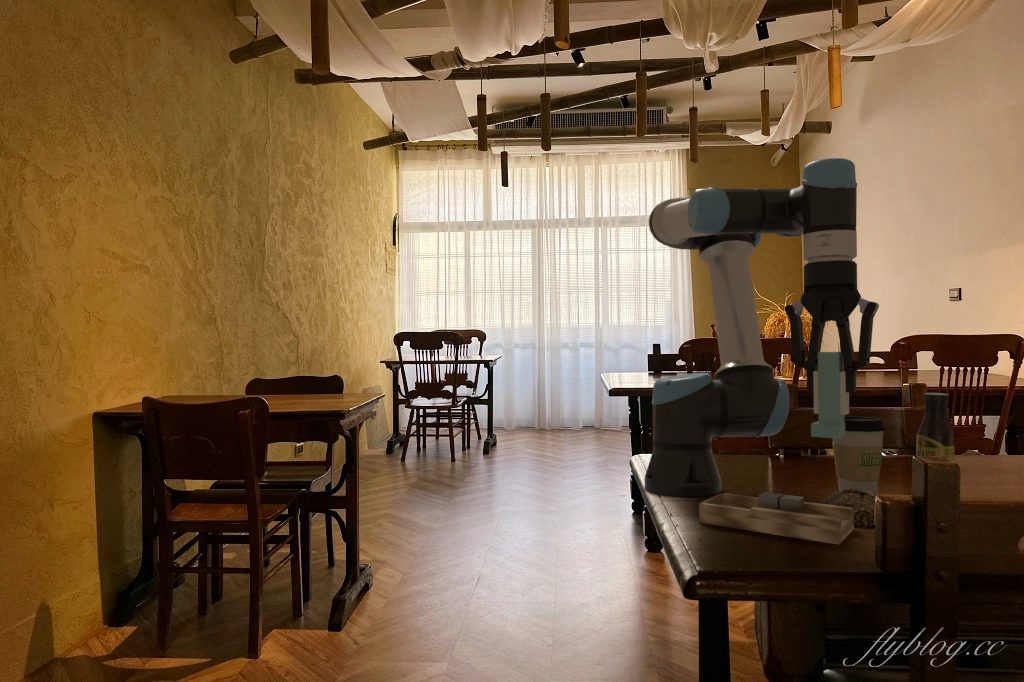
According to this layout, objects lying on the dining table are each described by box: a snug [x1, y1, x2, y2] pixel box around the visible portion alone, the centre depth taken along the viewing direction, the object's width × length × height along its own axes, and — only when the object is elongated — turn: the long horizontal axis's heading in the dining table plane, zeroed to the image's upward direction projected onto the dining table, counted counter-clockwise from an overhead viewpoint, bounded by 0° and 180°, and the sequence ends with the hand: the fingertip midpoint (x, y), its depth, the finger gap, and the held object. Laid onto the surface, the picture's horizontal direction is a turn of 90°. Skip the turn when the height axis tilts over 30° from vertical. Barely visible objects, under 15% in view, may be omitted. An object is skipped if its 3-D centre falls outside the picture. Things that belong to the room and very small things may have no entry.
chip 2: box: [780, 494, 805, 514], centre depth 112 cm, size 3×3×3 cm
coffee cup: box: [831, 415, 887, 494], centre depth 134 cm, size 10×10×15 cm
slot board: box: [698, 492, 855, 545], centre depth 114 cm, size 22×10×4 cm, turn 53°
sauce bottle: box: [915, 392, 956, 462], centre depth 133 cm, size 6×6×20 cm
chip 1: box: [758, 491, 784, 510], centre depth 114 cm, size 3×3×3 cm
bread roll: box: [819, 489, 878, 528], centre depth 120 cm, size 13×12×5 cm
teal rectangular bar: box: [810, 351, 845, 439], centre depth 108 cm, size 4×4×13 cm
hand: (831, 413), depth 108 cm, fingers closed on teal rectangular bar, 3 cm apart
